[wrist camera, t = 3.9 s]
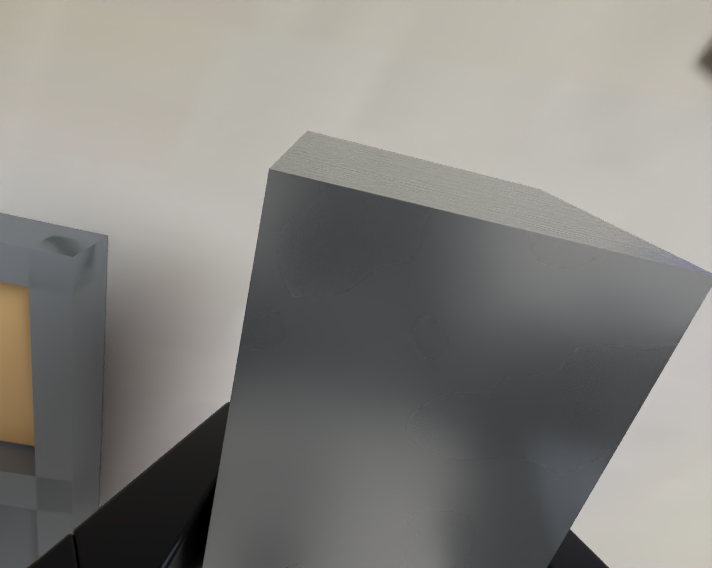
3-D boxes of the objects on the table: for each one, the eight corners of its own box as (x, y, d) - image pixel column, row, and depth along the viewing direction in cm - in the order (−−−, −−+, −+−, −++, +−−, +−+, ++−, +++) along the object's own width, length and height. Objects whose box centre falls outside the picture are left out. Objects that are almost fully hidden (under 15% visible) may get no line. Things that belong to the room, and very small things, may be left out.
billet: (539, 189, 8) (717, 276, 4) (385, 578, 11) (405, 809, 8) (307, 130, 7) (269, 168, 4) (226, 555, 11) (165, 789, 7)
